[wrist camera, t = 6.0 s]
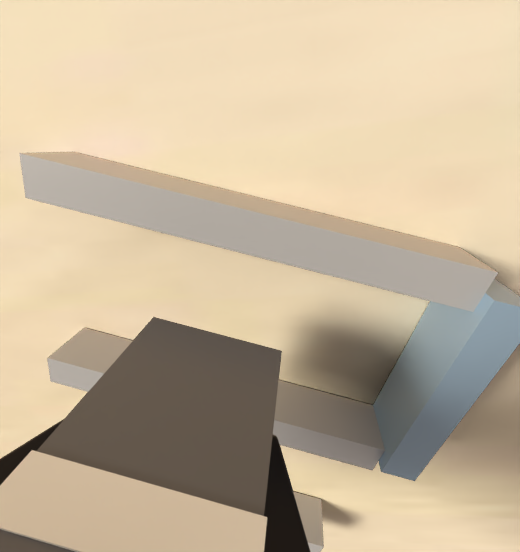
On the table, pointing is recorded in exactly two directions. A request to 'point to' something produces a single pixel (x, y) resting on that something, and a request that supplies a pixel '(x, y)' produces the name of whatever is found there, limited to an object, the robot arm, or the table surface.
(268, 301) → the table surface
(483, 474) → the table surface
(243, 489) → the grey capped block
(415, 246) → the grey rectangular bars
